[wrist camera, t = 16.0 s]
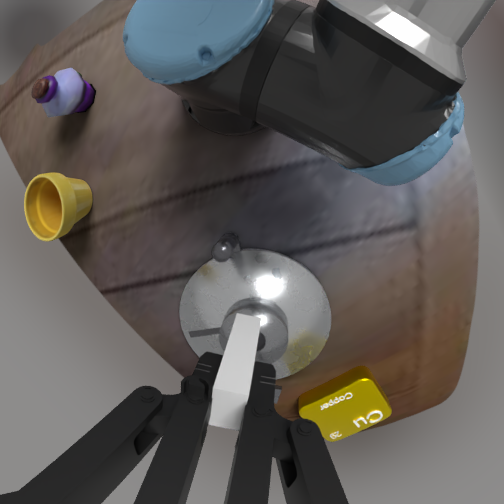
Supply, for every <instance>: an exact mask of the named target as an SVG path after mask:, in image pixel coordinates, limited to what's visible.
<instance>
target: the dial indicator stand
mask: <svg viewBox="0 0 504 504" xmlns="http://www.w3.org/2000/svg"><path fill="white" fill-rule="evenodd" d="M281 389H282V386H276V385H275V397H274V403H277V401H278V398H279V396H280V393H281Z"/></svg>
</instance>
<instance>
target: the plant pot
mask: <svg viewBox="0 0 504 504" xmlns="http://www.w3.org/2000/svg"><path fill="white" fill-rule="evenodd" d="M92 201H93V197H92V192H91V189H90V187H89V185H88V184H87V183H86V182H85V181H83V180H80V179H73V178H67V177H65V176H64V175H62V174H60V173H45V174H41V175H38V176H36V177H35V178H33V179H32V180H31V182H30V183H29V185H28V187H27V190H26V193H25V199H24V210H25V216H26V220H27V222H28V225H29V227H30V229H31V231H32V232H33V233H34V235H35V236H36V237H38V238H39V239H40V240H42V241H52V240H55V239H57V238H60V237H62V236H63V235H65V234H67V233H68V232H69V231H70V230H71V228H72V227H73V225H74V224H75V223H76V222H77V221H79V220H80V219H81V218H83V217H84V216H85V215H87V214H88V212H89V211H90V209H91V206H92Z"/></svg>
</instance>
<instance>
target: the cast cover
mask: <svg viewBox="0 0 504 504" xmlns="http://www.w3.org/2000/svg"><path fill="white" fill-rule="evenodd" d="M237 313H239V314H244V315H249V316H254V317H259V318H261V324H260V331H259V337H258V343H257V350H256V356H255V361H257V362H263V363H268V364H271V363H274V362H275V361H277V360H278V359H280V358H281V357H282V356H283V354H284V353H285V351H286V349H287V346H288V320H287V317H286V315H285V313H284V312H283V310H282V309H281V308H280V307H279V306H278V305H277V304H275V303H274V302H272V301H270V300H267V299H264V298H258V297H251V298H245V299H242V300H239V301H238V302H236V303H234V304H233V305H232V306H231V307H230V308H229V309H228V311H227V313H226V315H225V317H224V320H223V322H222V325H221V328H220V331H219V342H220V345H221V347H222V349H223V351H224V352H225V349H226V346H227V343H228V340H229V337H230V333H231V330H232V327H233V324H234V321H235V318H236V315H237Z"/></svg>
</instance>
